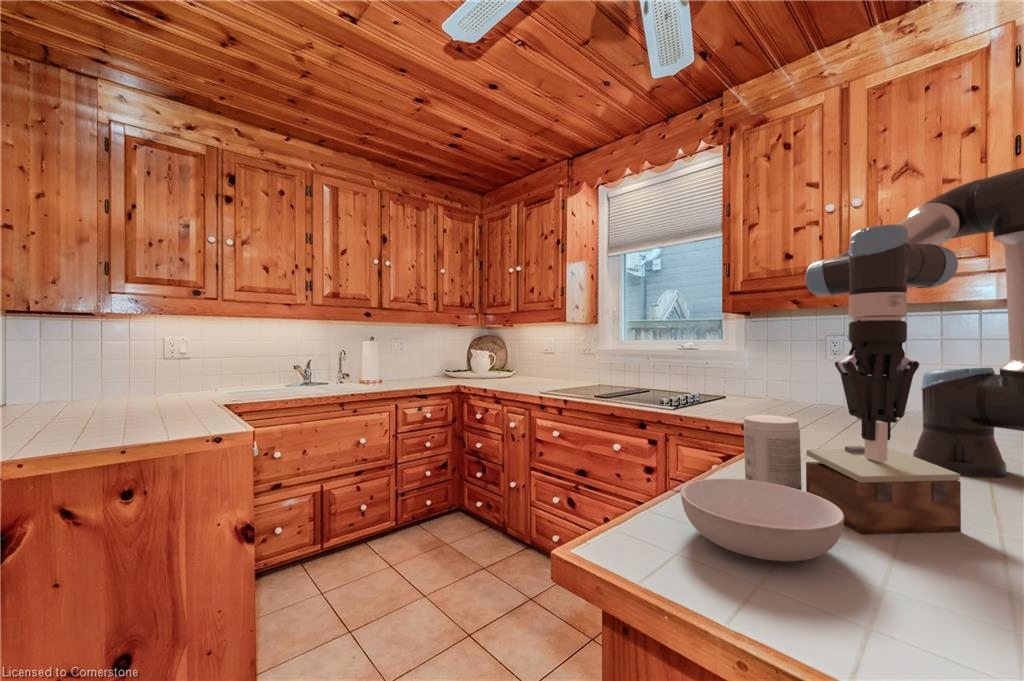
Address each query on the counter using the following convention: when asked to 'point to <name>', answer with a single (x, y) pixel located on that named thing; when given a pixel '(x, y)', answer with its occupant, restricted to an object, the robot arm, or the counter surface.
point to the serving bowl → (762, 518)
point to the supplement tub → (772, 450)
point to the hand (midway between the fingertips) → (875, 459)
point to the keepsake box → (888, 502)
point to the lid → (881, 466)
